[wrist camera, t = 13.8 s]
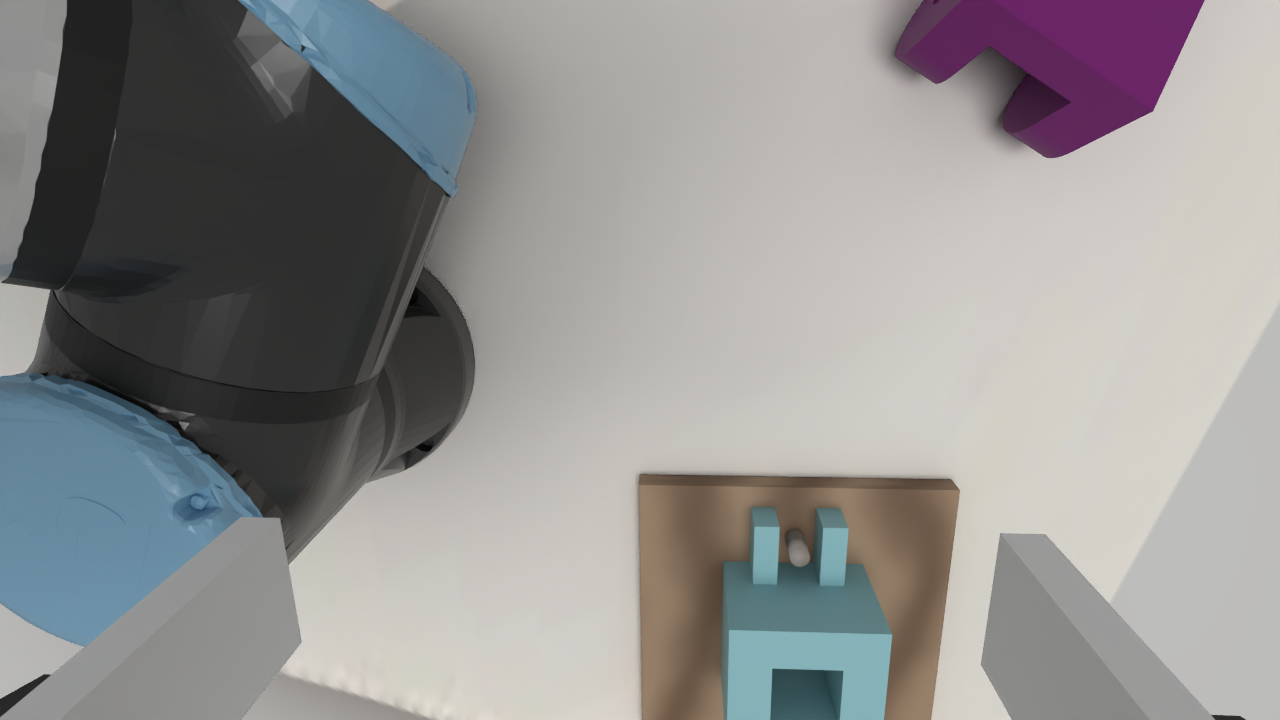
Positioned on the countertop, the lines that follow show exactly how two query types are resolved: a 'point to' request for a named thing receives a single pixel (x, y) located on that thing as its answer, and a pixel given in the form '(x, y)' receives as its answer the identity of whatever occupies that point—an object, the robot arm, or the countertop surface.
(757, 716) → the flange block
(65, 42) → the robot arm
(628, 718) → the countertop surface
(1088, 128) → the mounting bracket
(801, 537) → the plate
